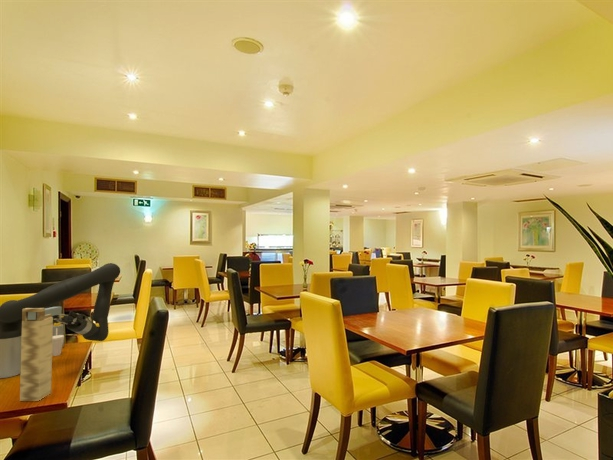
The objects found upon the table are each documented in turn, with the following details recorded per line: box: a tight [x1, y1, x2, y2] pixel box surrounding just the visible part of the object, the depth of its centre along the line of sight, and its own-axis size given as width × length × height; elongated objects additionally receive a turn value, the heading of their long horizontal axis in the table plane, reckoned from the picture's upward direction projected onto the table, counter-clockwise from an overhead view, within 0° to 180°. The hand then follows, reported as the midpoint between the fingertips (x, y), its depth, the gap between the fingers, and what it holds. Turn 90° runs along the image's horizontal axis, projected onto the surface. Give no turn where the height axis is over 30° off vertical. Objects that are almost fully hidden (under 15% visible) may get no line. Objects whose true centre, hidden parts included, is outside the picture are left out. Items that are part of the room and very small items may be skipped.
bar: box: [27, 306, 63, 320], centre depth 136 cm, size 3×14×3 cm, turn 2°
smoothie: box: [52, 328, 65, 357], centre depth 180 cm, size 6×6×14 cm
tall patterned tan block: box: [19, 307, 54, 402], centre depth 132 cm, size 7×6×35 cm
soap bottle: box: [52, 316, 65, 349], centre depth 191 cm, size 7×7×18 cm
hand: (59, 313), depth 144 cm, fingers open, 8 cm apart
